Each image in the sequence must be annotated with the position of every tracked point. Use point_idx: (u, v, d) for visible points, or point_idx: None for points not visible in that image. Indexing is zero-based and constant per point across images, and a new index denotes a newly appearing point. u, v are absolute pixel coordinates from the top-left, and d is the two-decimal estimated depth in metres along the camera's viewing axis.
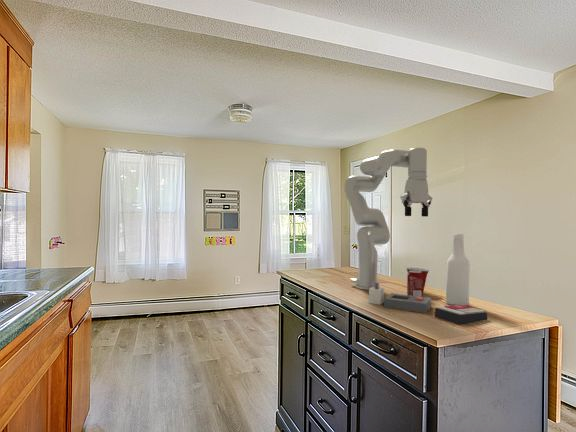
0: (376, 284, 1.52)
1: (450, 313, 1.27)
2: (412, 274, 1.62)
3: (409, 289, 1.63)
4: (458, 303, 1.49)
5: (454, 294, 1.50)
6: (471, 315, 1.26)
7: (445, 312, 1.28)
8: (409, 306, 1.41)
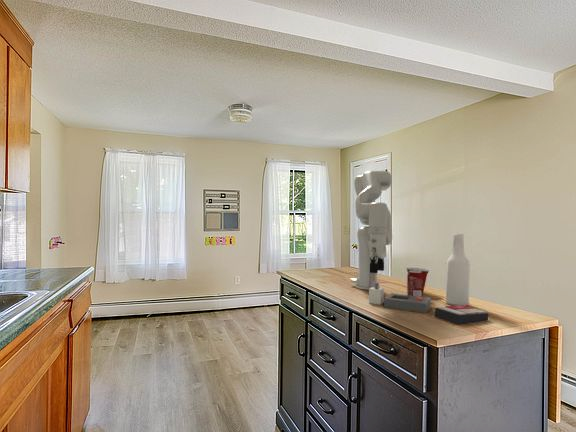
0: (376, 284, 1.52)
1: (449, 313, 1.27)
2: (412, 274, 1.62)
3: (409, 289, 1.63)
4: (458, 303, 1.49)
5: (454, 294, 1.50)
6: (470, 315, 1.25)
7: (444, 312, 1.29)
8: (409, 306, 1.41)
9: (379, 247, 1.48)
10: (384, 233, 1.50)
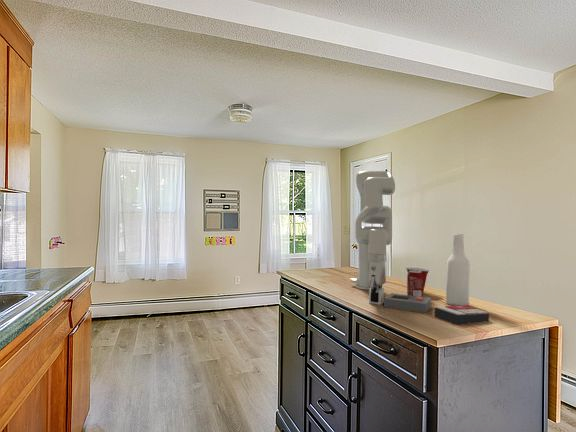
0: (376, 284, 1.52)
1: (448, 313, 1.27)
2: (412, 274, 1.62)
3: (409, 289, 1.63)
4: (458, 303, 1.49)
5: (454, 294, 1.50)
6: (470, 316, 1.25)
7: (444, 312, 1.29)
8: (409, 306, 1.41)
9: (378, 275, 1.48)
10: (383, 260, 1.50)
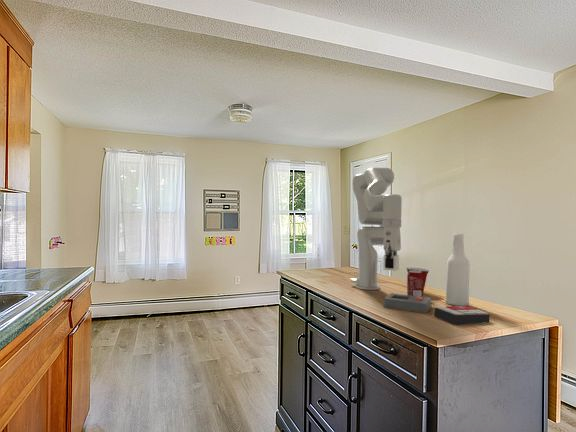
0: (391, 250, 1.49)
1: (447, 313, 1.27)
2: (412, 274, 1.62)
3: (409, 289, 1.63)
4: (458, 303, 1.49)
5: (454, 294, 1.50)
6: (469, 316, 1.24)
7: (443, 312, 1.29)
8: (409, 306, 1.41)
9: (393, 240, 1.45)
10: (399, 225, 1.47)
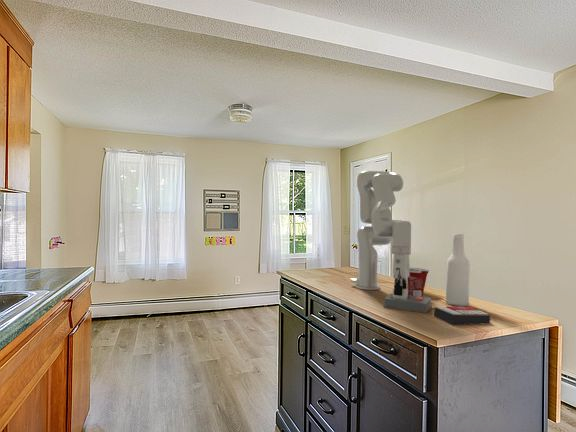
0: None
1: (445, 313, 1.27)
2: (412, 274, 1.62)
3: (409, 289, 1.63)
4: (458, 303, 1.49)
5: (454, 294, 1.50)
6: (467, 316, 1.24)
7: (441, 312, 1.29)
8: (409, 306, 1.41)
9: (403, 268, 1.43)
10: (408, 253, 1.45)
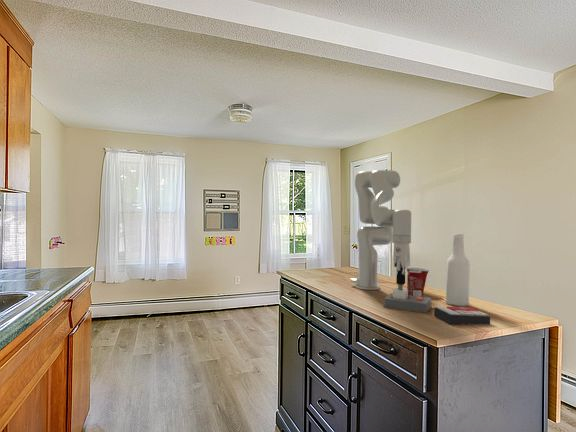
0: (400, 285, 1.47)
1: (444, 313, 1.27)
2: (412, 274, 1.62)
3: (409, 289, 1.63)
4: (458, 303, 1.49)
5: (454, 294, 1.50)
6: (466, 317, 1.24)
7: (440, 312, 1.29)
8: (409, 306, 1.41)
9: (404, 256, 1.43)
10: (409, 241, 1.45)
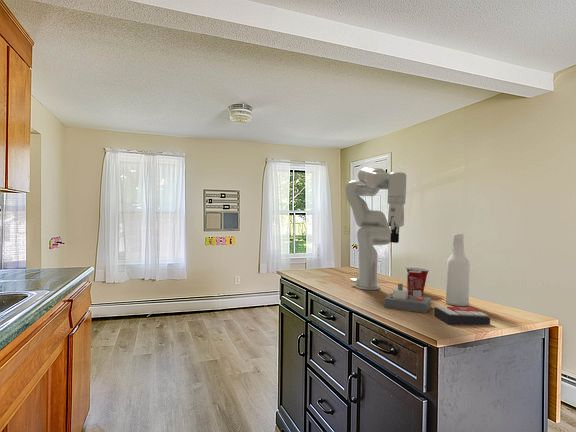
0: (400, 285, 1.47)
1: (442, 313, 1.27)
2: (412, 274, 1.62)
3: (409, 289, 1.63)
4: (458, 303, 1.49)
5: (454, 294, 1.50)
6: (464, 317, 1.23)
7: (440, 311, 1.29)
8: (409, 306, 1.41)
9: (398, 216, 1.52)
10: (403, 202, 1.54)
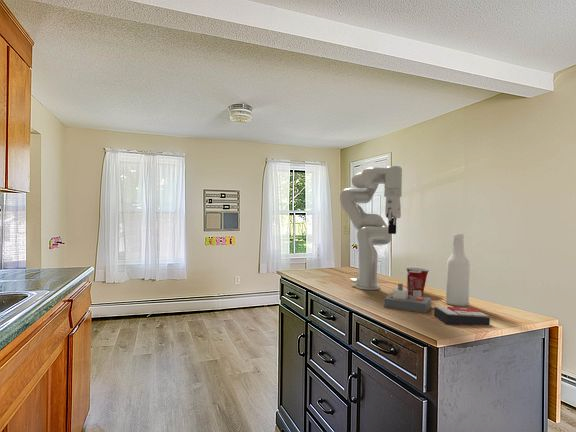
0: (400, 285, 1.47)
1: (441, 313, 1.27)
2: (412, 274, 1.62)
3: (409, 289, 1.63)
4: (458, 303, 1.49)
5: (454, 294, 1.50)
6: (463, 317, 1.23)
7: (439, 311, 1.29)
8: (409, 306, 1.41)
9: (395, 207, 1.58)
10: (399, 194, 1.60)
